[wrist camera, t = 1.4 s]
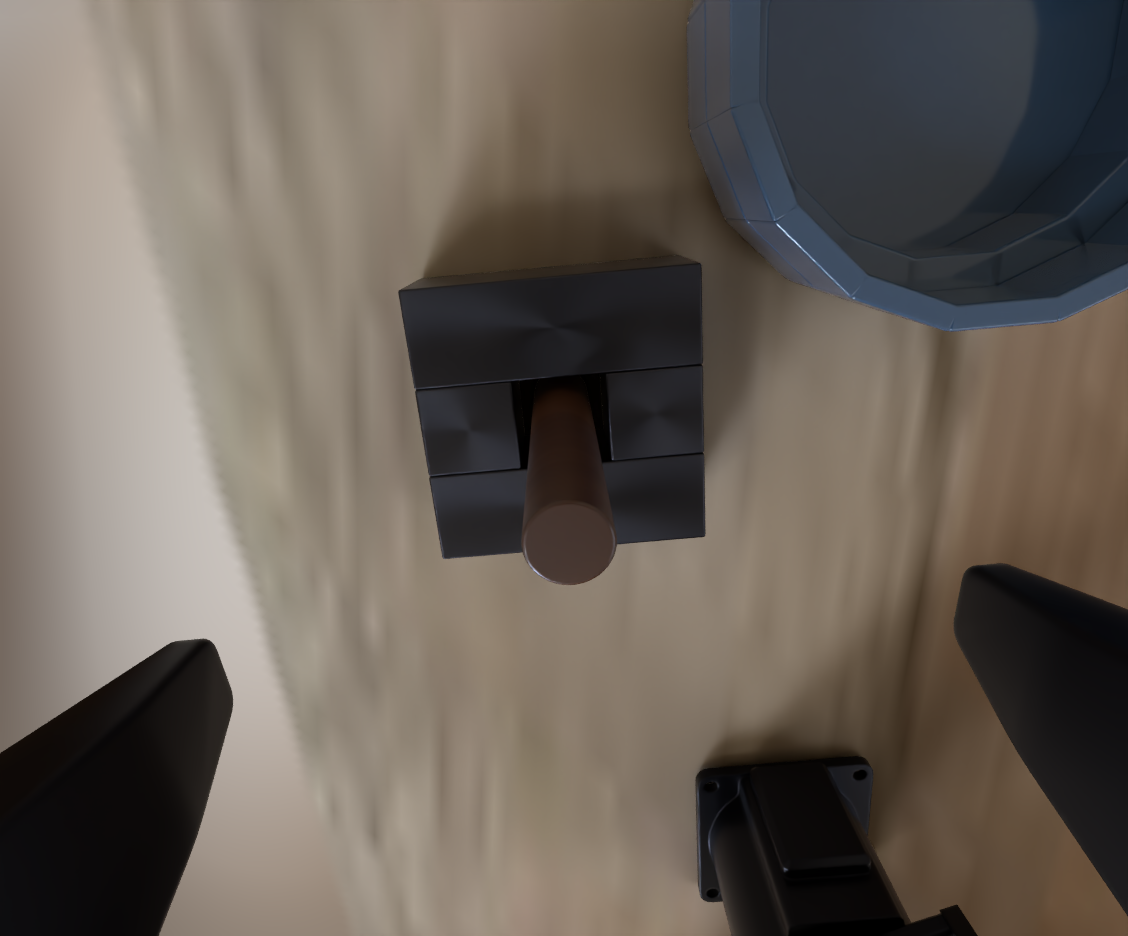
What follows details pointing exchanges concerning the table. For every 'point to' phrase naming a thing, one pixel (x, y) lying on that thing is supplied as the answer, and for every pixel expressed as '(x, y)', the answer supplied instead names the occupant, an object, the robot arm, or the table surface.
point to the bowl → (922, 149)
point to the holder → (556, 349)
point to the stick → (566, 487)
